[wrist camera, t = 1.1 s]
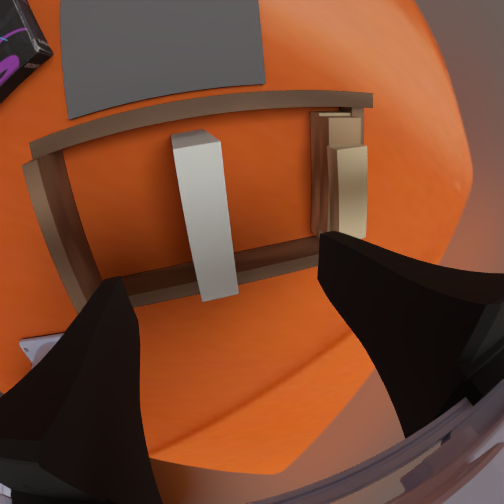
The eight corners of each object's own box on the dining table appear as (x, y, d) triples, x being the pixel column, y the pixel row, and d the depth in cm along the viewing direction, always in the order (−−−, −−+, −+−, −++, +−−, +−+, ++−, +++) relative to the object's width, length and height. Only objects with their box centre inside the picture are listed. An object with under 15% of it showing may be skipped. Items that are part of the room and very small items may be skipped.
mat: (263, 84, 16) (265, 83, 16) (70, 119, 14) (69, 119, 13) (252, -35, 11) (254, -37, 11) (62, -6, 9) (60, -7, 9)
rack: (346, 239, 24) (374, 263, 20) (95, 294, 20) (87, 330, 16) (351, 91, 18) (387, 94, 14) (45, 136, 14) (17, 147, 10)
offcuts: (338, 225, 23) (364, 247, 20) (309, 231, 22) (332, 254, 19) (340, 111, 18) (373, 117, 15) (307, 111, 18) (336, 116, 15)
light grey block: (218, 243, 21) (238, 293, 16) (190, 248, 20) (202, 302, 15) (203, 128, 17) (220, 141, 12) (170, 134, 16) (173, 149, 11)
